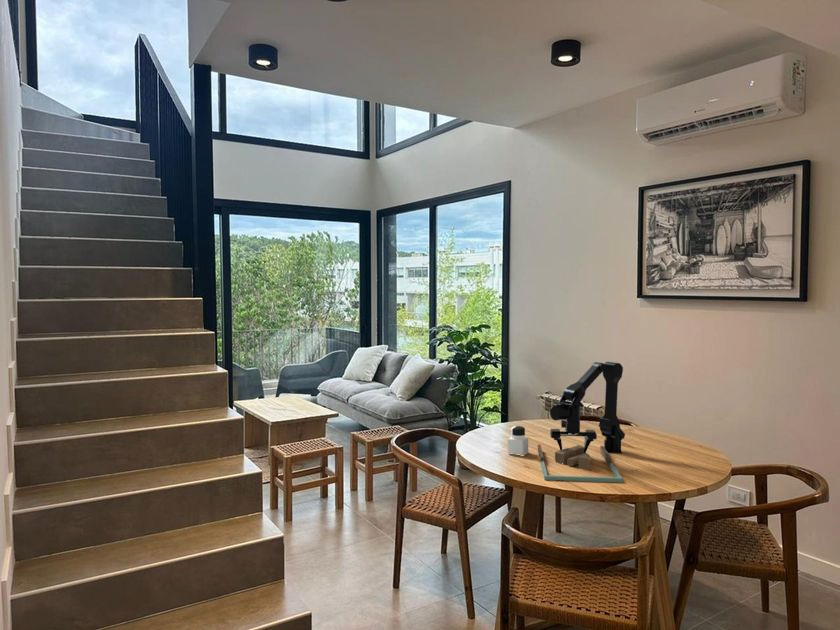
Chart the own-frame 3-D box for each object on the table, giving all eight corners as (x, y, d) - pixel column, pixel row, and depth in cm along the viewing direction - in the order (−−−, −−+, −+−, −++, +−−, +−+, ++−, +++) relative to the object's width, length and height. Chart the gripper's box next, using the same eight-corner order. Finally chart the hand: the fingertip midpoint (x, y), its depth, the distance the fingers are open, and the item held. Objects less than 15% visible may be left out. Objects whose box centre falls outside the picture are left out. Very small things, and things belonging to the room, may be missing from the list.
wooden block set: (553, 449, 237) (578, 442, 249) (553, 463, 238) (578, 454, 249) (588, 457, 225) (613, 449, 236) (588, 472, 225) (613, 462, 236)
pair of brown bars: (603, 452, 251) (603, 445, 251) (612, 466, 231) (611, 458, 231) (537, 451, 255) (537, 444, 255) (540, 464, 235) (540, 457, 235)
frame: (612, 467, 230) (612, 463, 230) (622, 482, 211) (622, 478, 211) (541, 465, 234) (540, 461, 234) (544, 480, 215) (544, 476, 215)
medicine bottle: (528, 452, 252) (528, 426, 252) (523, 456, 246) (522, 429, 246) (513, 450, 256) (513, 424, 256) (507, 454, 250) (507, 427, 250)
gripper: (592, 414, 248) (592, 449, 249) (549, 413, 251) (549, 448, 252) (596, 419, 237) (596, 456, 238) (551, 418, 240) (551, 455, 241)
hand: (573, 453), depth 242 cm, fingers open, 9 cm apart
